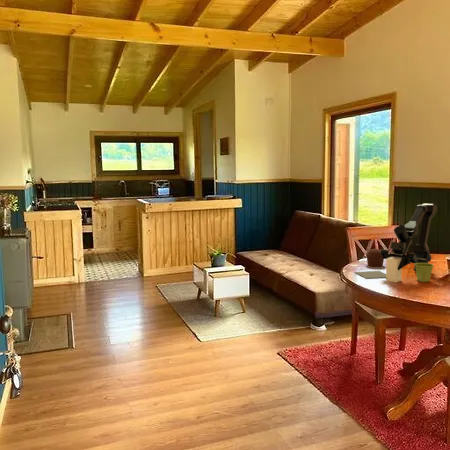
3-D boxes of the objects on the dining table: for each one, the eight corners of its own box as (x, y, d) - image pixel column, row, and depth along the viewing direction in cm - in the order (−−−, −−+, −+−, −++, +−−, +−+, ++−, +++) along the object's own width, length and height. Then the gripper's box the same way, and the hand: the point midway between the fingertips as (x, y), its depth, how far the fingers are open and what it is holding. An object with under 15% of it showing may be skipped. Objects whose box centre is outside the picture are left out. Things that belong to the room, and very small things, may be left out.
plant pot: (431, 283, 230) (432, 267, 229) (412, 281, 235) (412, 265, 234) (434, 279, 238) (435, 263, 237) (415, 277, 243) (415, 262, 242)
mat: (379, 271, 259) (379, 270, 259) (392, 277, 244) (392, 276, 244) (354, 272, 257) (354, 271, 257) (365, 278, 242) (365, 278, 242)
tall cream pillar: (391, 278, 241) (391, 256, 240) (401, 280, 237) (401, 258, 236) (385, 280, 238) (386, 258, 236) (396, 282, 233) (396, 259, 232)
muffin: (361, 264, 278) (361, 248, 277) (373, 262, 284) (374, 247, 282) (376, 268, 268) (377, 251, 267) (389, 266, 274) (389, 249, 272)
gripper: (382, 234, 244) (371, 257, 238) (415, 238, 230) (405, 262, 224) (388, 247, 250) (378, 269, 244) (422, 251, 236) (411, 275, 230)
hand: (392, 268), depth 236 cm, fingers closed on tall cream pillar, 6 cm apart
